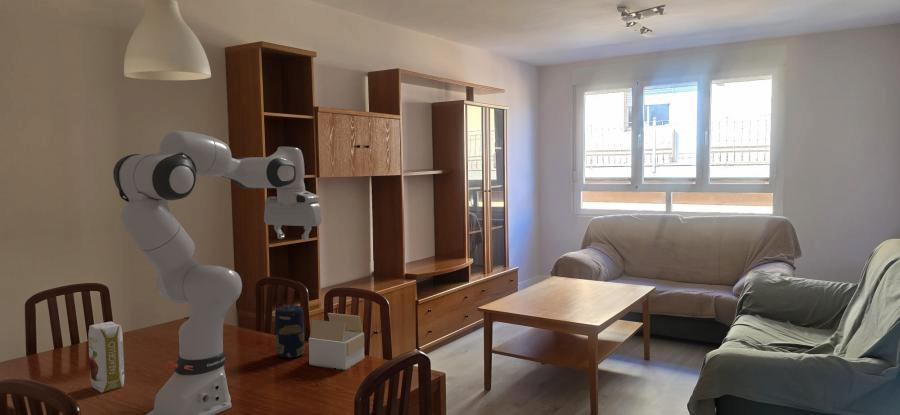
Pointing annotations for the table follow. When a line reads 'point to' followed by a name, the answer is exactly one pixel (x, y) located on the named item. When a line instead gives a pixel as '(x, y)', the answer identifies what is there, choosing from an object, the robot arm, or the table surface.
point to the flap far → (347, 321)
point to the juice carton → (106, 356)
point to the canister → (289, 331)
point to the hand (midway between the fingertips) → (293, 239)
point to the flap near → (327, 330)
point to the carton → (337, 351)
